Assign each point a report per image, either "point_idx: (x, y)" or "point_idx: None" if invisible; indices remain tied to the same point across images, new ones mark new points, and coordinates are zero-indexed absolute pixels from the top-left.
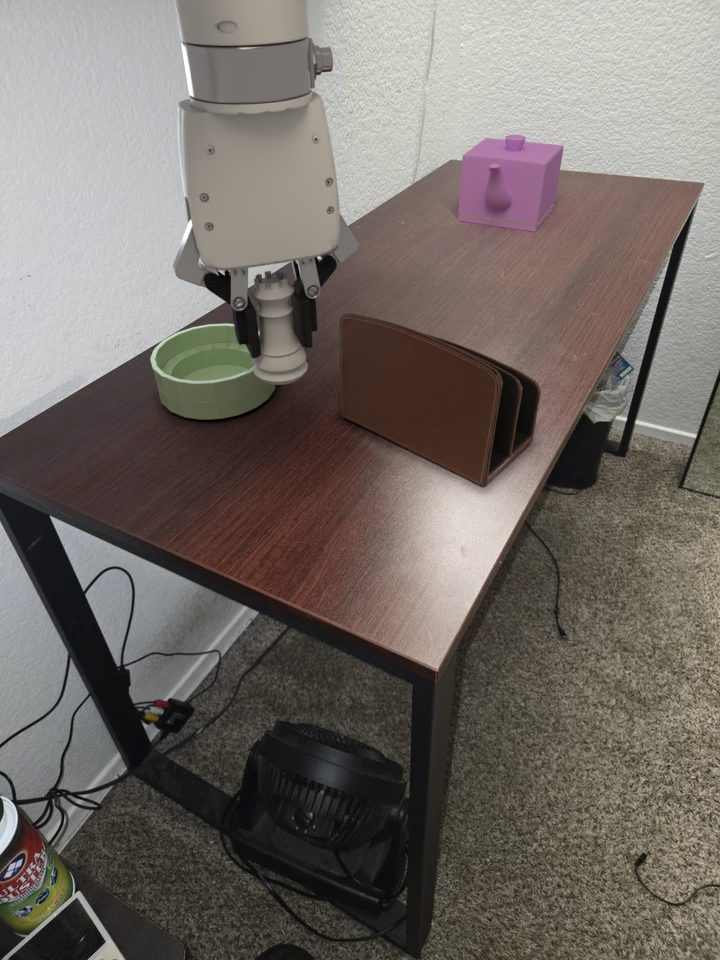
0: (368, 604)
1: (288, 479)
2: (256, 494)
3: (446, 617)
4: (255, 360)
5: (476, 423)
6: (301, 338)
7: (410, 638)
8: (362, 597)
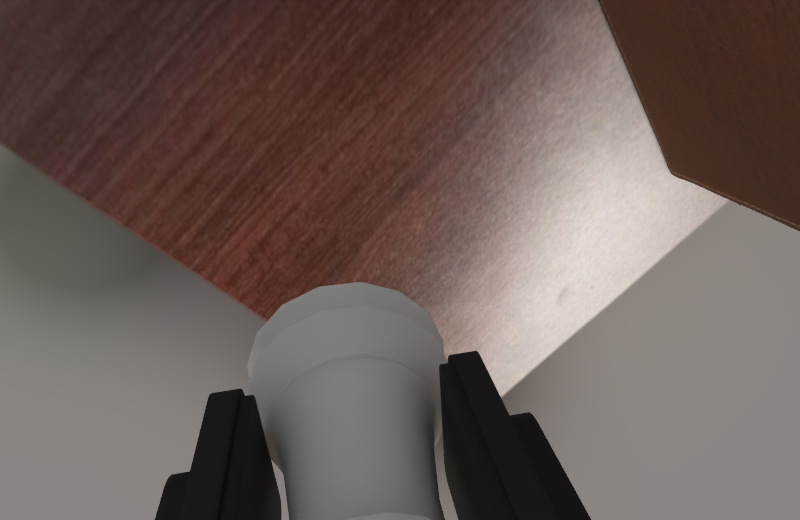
0: None
1: (325, 37)
2: (248, 70)
3: None
4: None
5: (758, 186)
6: (451, 483)
7: None
8: None
